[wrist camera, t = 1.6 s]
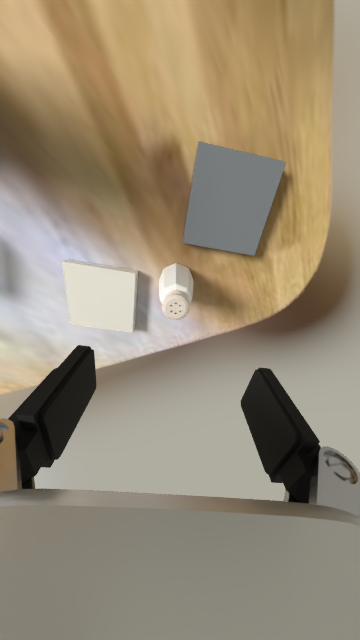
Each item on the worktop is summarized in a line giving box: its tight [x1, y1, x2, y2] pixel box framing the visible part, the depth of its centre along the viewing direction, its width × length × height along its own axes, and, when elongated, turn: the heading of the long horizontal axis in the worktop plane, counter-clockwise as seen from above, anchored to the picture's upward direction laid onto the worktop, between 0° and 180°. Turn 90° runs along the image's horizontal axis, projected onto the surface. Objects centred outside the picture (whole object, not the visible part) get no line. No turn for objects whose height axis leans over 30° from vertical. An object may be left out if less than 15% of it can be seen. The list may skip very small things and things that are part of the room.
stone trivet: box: [62, 260, 138, 333], centre depth 27 cm, size 10×10×2 cm
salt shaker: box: [159, 263, 194, 320], centre depth 22 cm, size 5×5×11 cm
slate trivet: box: [182, 142, 286, 256], centre depth 22 cm, size 10×10×2 cm
